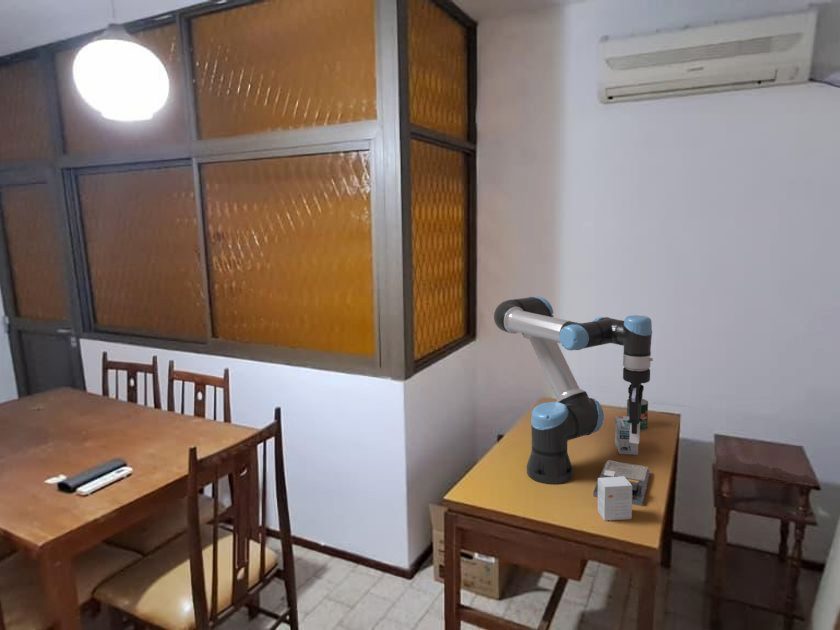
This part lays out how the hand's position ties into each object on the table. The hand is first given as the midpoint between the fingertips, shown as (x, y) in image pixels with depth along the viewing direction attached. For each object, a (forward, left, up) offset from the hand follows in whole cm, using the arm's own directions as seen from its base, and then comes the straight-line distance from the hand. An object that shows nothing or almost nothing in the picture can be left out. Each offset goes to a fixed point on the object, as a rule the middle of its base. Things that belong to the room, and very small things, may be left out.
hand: (634, 442), depth 162 cm
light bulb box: (+13, +29, -17) cm, 36 cm away
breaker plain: (-7, +2, -13) cm, 15 cm away
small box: (-12, -12, -16) cm, 23 cm away
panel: (-1, +4, -16) cm, 17 cm away
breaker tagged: (-1, -2, -13) cm, 13 cm away
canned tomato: (+27, +47, -16) cm, 57 cm away
